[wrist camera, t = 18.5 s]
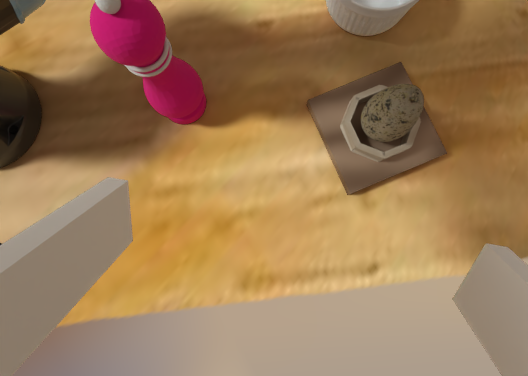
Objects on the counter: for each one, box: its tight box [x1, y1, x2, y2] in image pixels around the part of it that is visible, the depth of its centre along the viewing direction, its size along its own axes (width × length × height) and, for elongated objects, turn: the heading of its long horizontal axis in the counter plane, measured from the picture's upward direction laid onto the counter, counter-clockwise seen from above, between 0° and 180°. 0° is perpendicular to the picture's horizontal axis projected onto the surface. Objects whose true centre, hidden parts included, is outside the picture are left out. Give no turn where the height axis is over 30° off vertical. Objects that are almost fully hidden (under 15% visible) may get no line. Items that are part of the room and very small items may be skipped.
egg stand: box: [307, 62, 447, 195], centre depth 37 cm, size 14×14×4 cm
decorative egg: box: [361, 84, 424, 142], centre depth 32 cm, size 6×6×10 cm
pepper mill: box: [90, 0, 206, 124], centre depth 30 cm, size 7×7×20 cm
